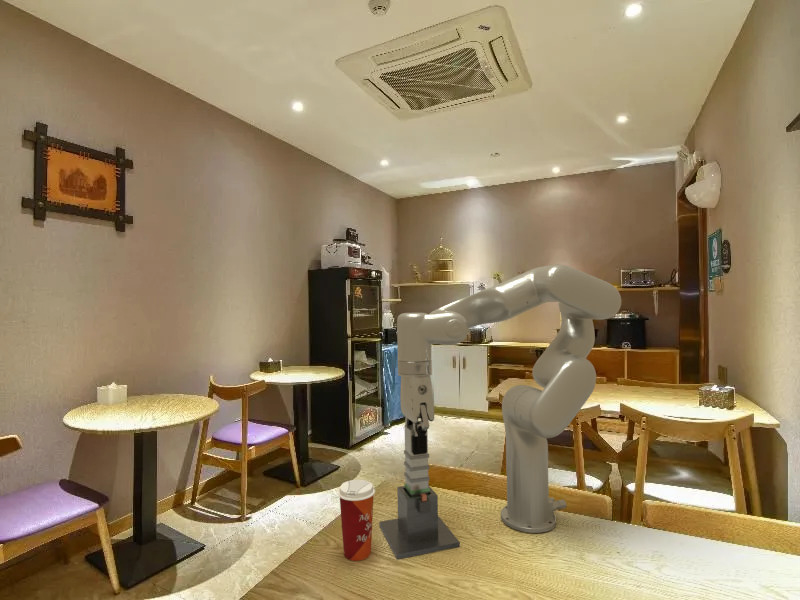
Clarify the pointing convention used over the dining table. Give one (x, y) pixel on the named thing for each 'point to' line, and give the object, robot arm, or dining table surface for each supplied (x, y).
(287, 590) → the dining table surface
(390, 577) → the dining table surface
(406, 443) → the column
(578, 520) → the dining table surface
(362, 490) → the paper cup
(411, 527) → the stand base
